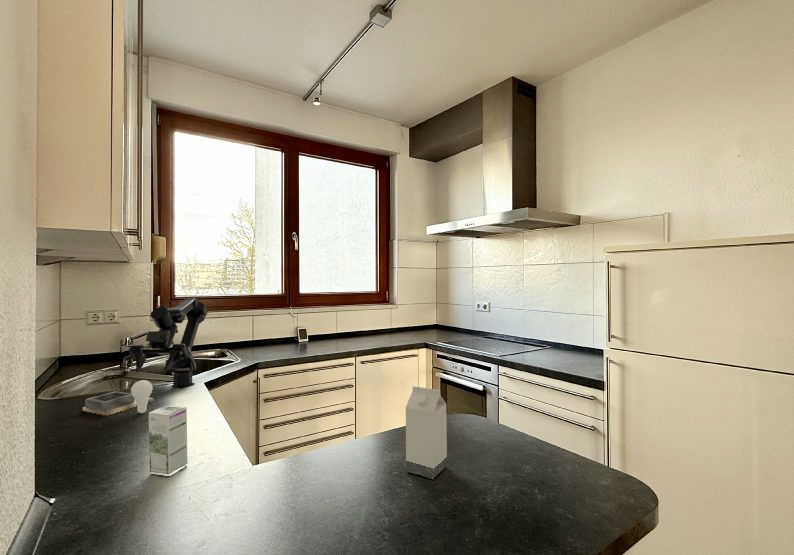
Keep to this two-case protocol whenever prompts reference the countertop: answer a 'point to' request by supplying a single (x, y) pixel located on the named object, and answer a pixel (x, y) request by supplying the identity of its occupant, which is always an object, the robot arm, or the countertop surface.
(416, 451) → the milk carton
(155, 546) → the countertop surface
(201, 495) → the countertop surface
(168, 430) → the syrup box
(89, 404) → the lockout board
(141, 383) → the lightbulb
